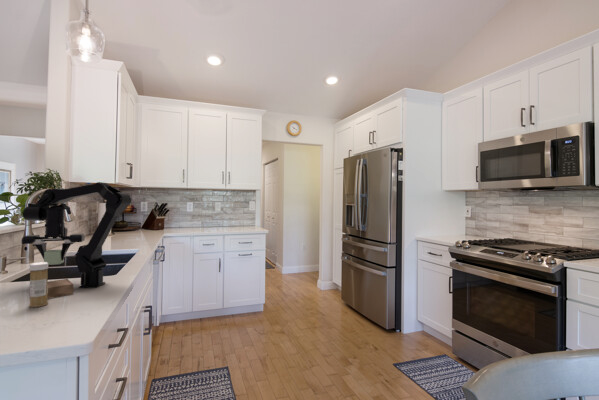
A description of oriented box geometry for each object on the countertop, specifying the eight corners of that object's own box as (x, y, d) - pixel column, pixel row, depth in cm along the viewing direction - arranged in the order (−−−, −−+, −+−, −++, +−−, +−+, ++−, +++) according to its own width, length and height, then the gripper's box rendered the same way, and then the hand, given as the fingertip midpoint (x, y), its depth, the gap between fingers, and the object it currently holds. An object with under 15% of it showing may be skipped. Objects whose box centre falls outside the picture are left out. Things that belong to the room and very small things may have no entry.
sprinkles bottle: (49, 302, 101) (50, 261, 101) (45, 306, 97) (46, 263, 97) (31, 304, 99) (32, 262, 99) (26, 308, 95) (27, 265, 95)
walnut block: (67, 289, 117) (67, 278, 117) (73, 295, 110) (73, 283, 110) (32, 295, 109) (32, 283, 109) (36, 301, 103) (36, 289, 103)
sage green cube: (63, 261, 124) (64, 249, 124) (60, 264, 119) (60, 251, 119) (48, 262, 122) (48, 250, 122) (43, 265, 117) (44, 251, 117)
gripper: (87, 219, 132) (87, 255, 132) (32, 220, 124) (31, 258, 124) (81, 221, 122) (80, 260, 122) (21, 221, 114) (20, 263, 114)
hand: (54, 260), depth 121 cm, fingers closed on sage green cube, 5 cm apart
